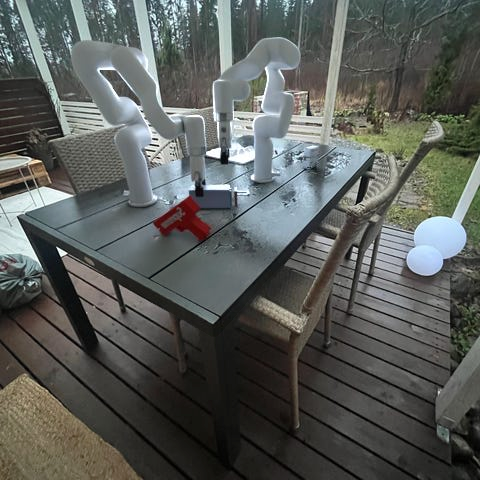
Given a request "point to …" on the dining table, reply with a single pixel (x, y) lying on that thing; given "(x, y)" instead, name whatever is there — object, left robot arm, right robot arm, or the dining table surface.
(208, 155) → the relief map
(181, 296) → the dining table surface
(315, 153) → the ink box
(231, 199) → the drawer
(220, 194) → the cabinet
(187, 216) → the toy gun
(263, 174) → the right robot arm
